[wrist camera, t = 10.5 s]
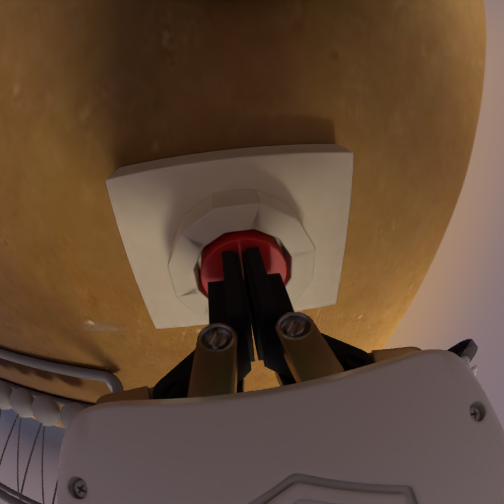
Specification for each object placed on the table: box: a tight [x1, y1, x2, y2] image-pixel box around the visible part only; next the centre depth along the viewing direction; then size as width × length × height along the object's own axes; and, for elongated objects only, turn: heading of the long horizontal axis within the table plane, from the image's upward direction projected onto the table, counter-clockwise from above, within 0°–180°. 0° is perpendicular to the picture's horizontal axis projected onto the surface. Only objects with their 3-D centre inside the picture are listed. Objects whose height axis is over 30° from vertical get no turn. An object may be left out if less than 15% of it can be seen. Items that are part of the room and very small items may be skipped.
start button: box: [201, 229, 287, 294], centre depth 13 cm, size 4×4×2 cm
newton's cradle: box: [0, 349, 124, 504], centre depth 15 cm, size 30×10×18 cm, turn 83°
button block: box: [106, 144, 354, 329], centre depth 14 cm, size 12×10×4 cm
